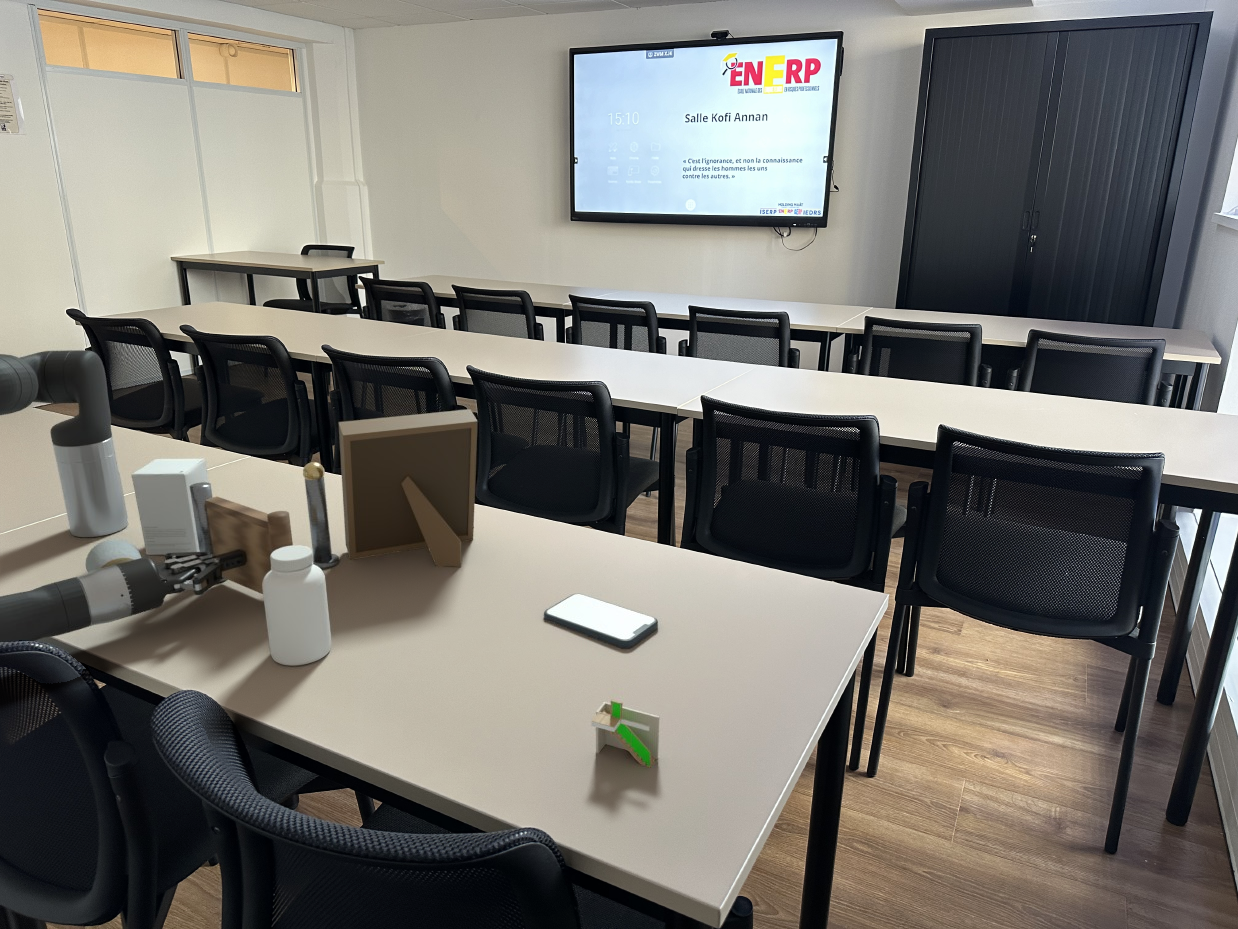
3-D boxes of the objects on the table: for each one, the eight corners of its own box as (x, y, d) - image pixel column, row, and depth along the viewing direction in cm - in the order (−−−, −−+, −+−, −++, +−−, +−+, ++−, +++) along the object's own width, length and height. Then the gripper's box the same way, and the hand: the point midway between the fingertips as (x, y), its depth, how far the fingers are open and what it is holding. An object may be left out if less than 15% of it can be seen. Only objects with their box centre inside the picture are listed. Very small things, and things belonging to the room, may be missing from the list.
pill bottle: (344, 643, 120) (334, 545, 115) (307, 672, 113) (294, 569, 108) (297, 633, 122) (286, 537, 118) (258, 661, 115) (244, 560, 111)
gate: (213, 579, 136) (200, 494, 132) (230, 572, 139) (218, 488, 134) (286, 610, 127) (275, 520, 122) (303, 602, 129) (293, 513, 125)
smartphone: (540, 622, 128) (627, 653, 119) (539, 612, 127) (627, 643, 118) (576, 600, 135) (661, 628, 126) (576, 591, 134) (661, 618, 125)
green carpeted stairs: (644, 782, 94) (646, 719, 91) (589, 765, 96) (589, 704, 94) (658, 760, 97) (659, 700, 95) (603, 745, 100) (604, 685, 97)
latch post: (311, 557, 147) (300, 458, 142) (342, 556, 148) (332, 457, 142) (303, 570, 142) (292, 467, 137) (335, 568, 143) (325, 467, 137)
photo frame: (346, 550, 150) (333, 413, 142) (466, 531, 159) (461, 401, 151) (360, 585, 137) (347, 437, 129) (490, 562, 146) (486, 423, 138)
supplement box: (219, 535, 156) (207, 457, 151) (197, 555, 147) (184, 473, 143) (168, 535, 156) (155, 457, 151) (144, 555, 147) (129, 473, 142)
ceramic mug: (98, 608, 129) (90, 561, 127) (89, 588, 135) (81, 543, 133) (175, 589, 135) (168, 545, 133) (163, 572, 141) (156, 529, 139)
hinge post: (203, 571, 141) (189, 480, 136) (235, 570, 142) (222, 479, 137) (191, 585, 137) (176, 491, 131) (225, 584, 137) (211, 490, 132)
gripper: (130, 582, 113) (259, 546, 125) (100, 552, 122) (223, 521, 134) (139, 632, 116) (265, 592, 127) (109, 599, 124) (229, 565, 136)
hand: (243, 556), depth 131 cm, fingers closed
